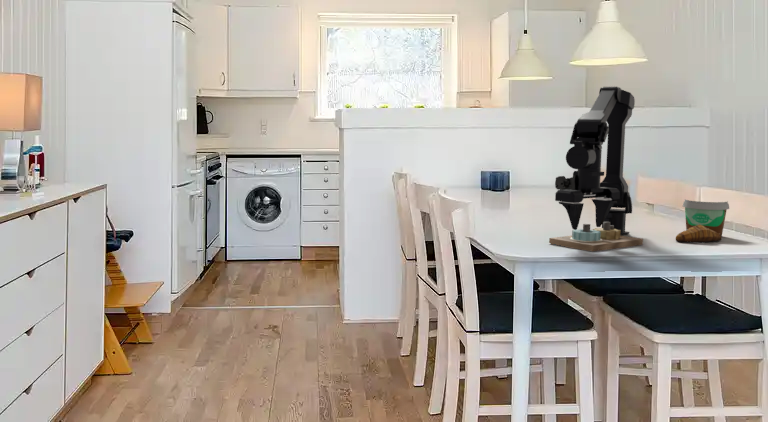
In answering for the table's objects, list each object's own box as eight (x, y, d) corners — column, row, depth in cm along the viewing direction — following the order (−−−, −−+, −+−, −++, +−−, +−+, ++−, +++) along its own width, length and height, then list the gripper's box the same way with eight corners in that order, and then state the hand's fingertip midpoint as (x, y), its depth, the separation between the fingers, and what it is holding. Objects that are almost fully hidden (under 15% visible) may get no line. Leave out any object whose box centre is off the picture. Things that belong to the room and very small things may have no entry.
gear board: (599, 237, 212) (600, 217, 212) (642, 244, 201) (643, 223, 201) (549, 243, 201) (550, 222, 200) (592, 251, 190) (593, 229, 189)
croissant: (684, 245, 203) (685, 226, 202) (669, 241, 210) (670, 223, 209) (728, 244, 206) (730, 225, 206) (712, 240, 213) (713, 222, 212)
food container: (680, 236, 217) (682, 201, 216) (680, 233, 223) (682, 199, 221) (728, 239, 212) (730, 203, 211) (727, 236, 218) (729, 201, 217)
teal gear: (584, 236, 203) (584, 228, 203) (606, 239, 198) (606, 231, 198) (566, 238, 199) (566, 230, 199) (588, 241, 194) (588, 233, 193)
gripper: (588, 164, 208) (585, 222, 210) (540, 166, 197) (537, 227, 199) (622, 167, 199) (619, 227, 201) (574, 169, 188) (571, 232, 190)
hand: (586, 228), depth 198 cm, fingers open, 9 cm apart
